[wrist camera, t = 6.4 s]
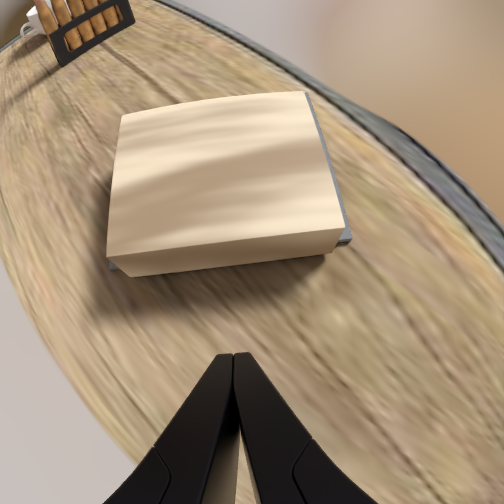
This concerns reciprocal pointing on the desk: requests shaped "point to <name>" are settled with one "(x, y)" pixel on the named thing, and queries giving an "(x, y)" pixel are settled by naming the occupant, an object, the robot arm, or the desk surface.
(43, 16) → the ammunition clip
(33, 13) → the teacup
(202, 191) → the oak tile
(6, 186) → the desk surface
